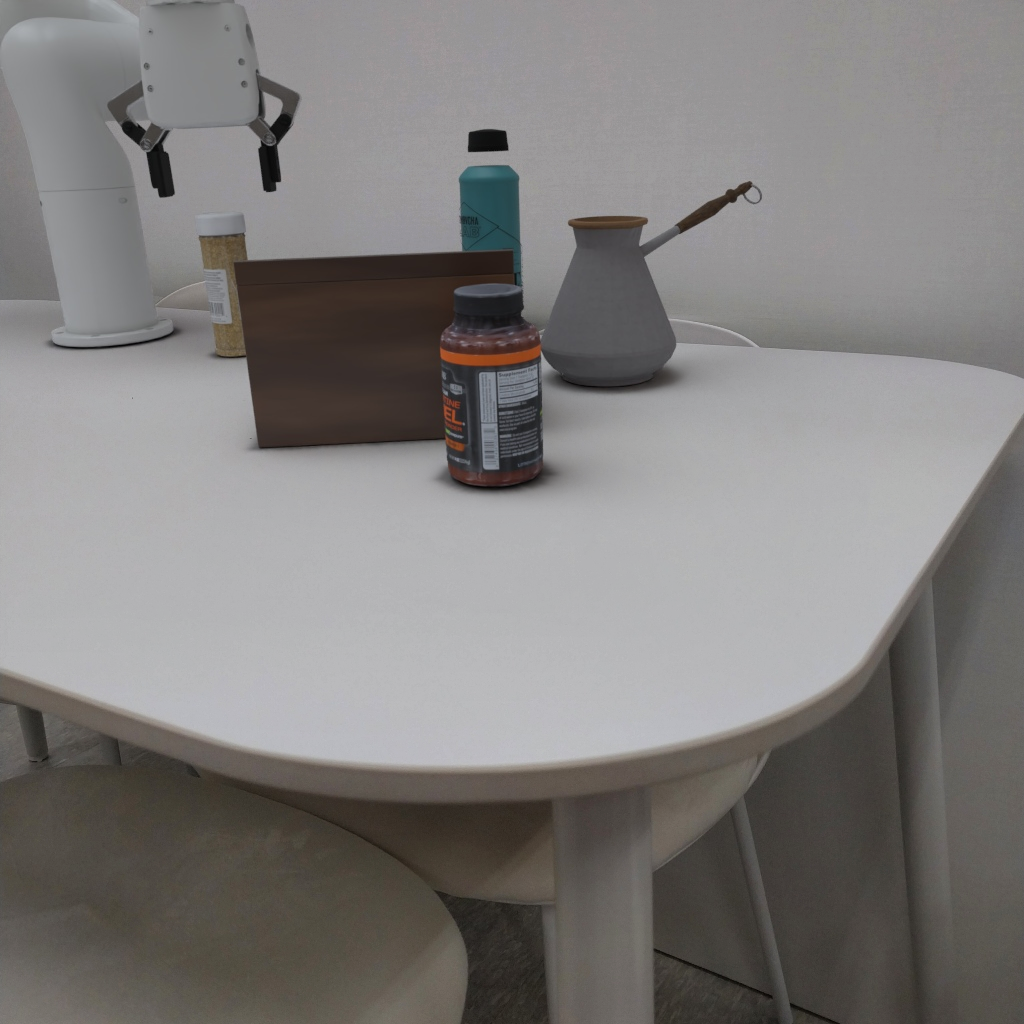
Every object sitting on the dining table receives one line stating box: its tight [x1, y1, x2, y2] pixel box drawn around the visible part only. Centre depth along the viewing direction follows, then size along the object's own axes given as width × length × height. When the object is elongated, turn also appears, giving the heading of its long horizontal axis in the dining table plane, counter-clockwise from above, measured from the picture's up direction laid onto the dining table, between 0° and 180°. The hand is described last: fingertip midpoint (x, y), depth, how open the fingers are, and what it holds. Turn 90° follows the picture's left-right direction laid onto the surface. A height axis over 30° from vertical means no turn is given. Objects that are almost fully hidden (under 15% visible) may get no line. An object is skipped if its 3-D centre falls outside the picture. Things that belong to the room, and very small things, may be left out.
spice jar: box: [194, 211, 249, 358], centre depth 94 cm, size 5×5×13 cm
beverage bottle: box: [458, 128, 525, 303], centre depth 101 cm, size 6×7×20 cm
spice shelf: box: [233, 249, 514, 448], centre depth 72 cm, size 16×18×12 cm
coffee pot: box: [540, 180, 763, 387], centre depth 82 cm, size 21×12×15 cm, turn 119°
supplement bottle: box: [440, 284, 544, 488], centre depth 58 cm, size 6×6×11 cm
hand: (218, 194), depth 91 cm, fingers open, 9 cm apart
